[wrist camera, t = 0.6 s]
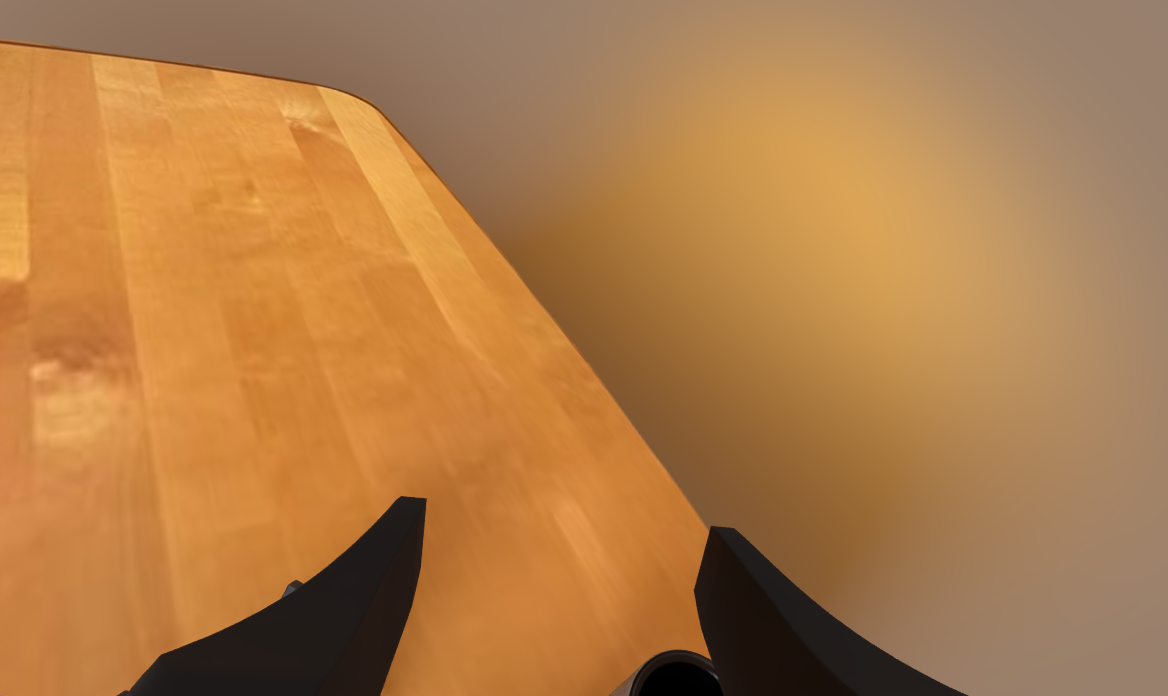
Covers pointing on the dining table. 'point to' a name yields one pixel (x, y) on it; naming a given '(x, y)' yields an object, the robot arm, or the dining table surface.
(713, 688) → the grey hollow cylinder
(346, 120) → the dining table surface
